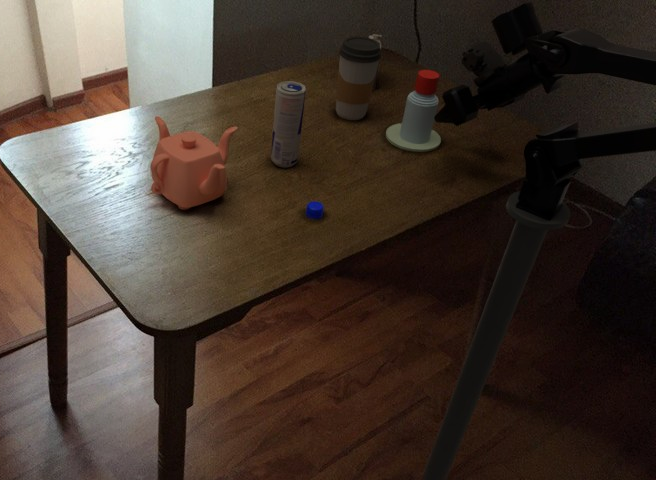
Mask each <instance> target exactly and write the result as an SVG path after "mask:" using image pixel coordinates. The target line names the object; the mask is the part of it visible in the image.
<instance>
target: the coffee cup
mask: <svg viewBox="0 0 656 480" xmlns="http://www.w3.org/2000/svg"><path fill="white" fill-rule="evenodd" d="M381 58H382V48H381V49H380V44H379V42H377V41H376V40H374V39H371V38H368V36H367V37H366V36H359V35H357V36H356V35H355V36H348V37H346V38H344V39H343V42H342V44H341V45H340V49H339V64H338V70H337V71H338V72H337V83H336V98H335V99H336V102H335V103H336V104H335V111H336V114H337V116H338V117H340V118H341V119H344V120H347V121H359V120H362V119H363V118H364V117H365V116H366V114H367V111H368V107H369V104H370V101H371V97H372V92H373V90H374V89H373V85H374V81H375V77H376V71H377V67H378V68H379V65H378V63H379V64H380V60H381ZM377 72H378V71H377ZM376 78H377V77H376Z"/></svg>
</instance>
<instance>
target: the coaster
mask: <svg viewBox="0 0 656 480" xmlns="http://www.w3.org/2000/svg"><path fill="white" fill-rule="evenodd" d="M401 125H402V122H401V123H395V124H392V125H390V126H388V128H387V129H386V130H385V138H386V140H387V142H388V143H389V144H391V145H392V146H394V147H396V148H397V149H401V150H403V151H408V152H413V153H426V152H427V153H428V152H431V151H435V150H436V149H438V148H439V147H440V146H441V142H442V137H441V136H440V134H439V133H438V132H437V131H435V130H434V129H432V131H431V135H430V139H429V141H428V142H426V143H422V144H416V143H410V142H407V141H405V140H403V139H402V138H401V137H400V130H401Z"/></svg>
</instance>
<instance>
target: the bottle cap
mask: <svg viewBox="0 0 656 480" xmlns="http://www.w3.org/2000/svg"><path fill="white" fill-rule="evenodd" d="M324 208H325V207H324V204H323V203H321V202H319V201H310V202H308V203H307V205H306V210H305V215H306V216H307V217H308V218H310V219H311V220H312V219H313V220H318V219H319V220H320V219H322V218H323V217H324Z"/></svg>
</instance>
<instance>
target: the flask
mask: <svg viewBox="0 0 656 480" xmlns="http://www.w3.org/2000/svg"><path fill="white" fill-rule="evenodd" d="M382 37H383V36H382V34H375V33H373V34H372V35H368V36H367V38H371V39H374V40H376V41H377V42H379V44H380V49H381V50H382V48H383V46H382V45H383V44H382V42H381V39H380V38H382ZM379 65H380V62H379V63H378V67H377V71H376V77H375V81H374V85H373V89H372V90H375V89H376V87H377V76H378V72H379V71H378V70H379Z"/></svg>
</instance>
